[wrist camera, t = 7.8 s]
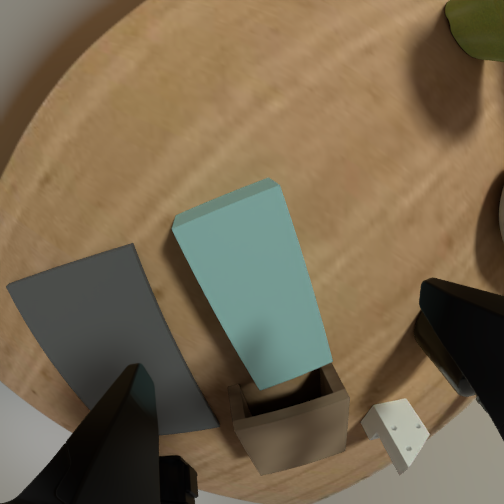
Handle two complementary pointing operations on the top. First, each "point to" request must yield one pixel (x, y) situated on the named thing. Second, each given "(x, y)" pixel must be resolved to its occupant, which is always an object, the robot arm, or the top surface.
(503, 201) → the spoon rest
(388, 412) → the white wedge bracket
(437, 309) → the robot arm
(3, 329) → the top surface
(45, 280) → the rubber mat
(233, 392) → the sleeve box
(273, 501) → the top surface
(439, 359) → the supplement bottle
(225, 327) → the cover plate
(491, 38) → the plant pot
